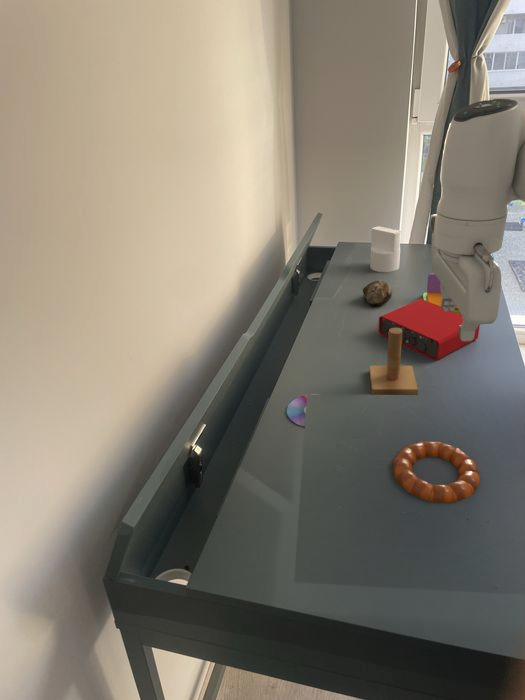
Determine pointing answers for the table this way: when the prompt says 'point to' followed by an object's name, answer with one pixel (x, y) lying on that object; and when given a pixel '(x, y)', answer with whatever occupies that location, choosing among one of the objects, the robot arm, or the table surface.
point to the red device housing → (426, 328)
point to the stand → (393, 371)
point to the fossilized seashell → (377, 292)
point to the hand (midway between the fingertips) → (456, 323)
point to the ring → (426, 490)
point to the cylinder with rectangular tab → (385, 249)
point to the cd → (298, 410)
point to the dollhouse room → (434, 291)
